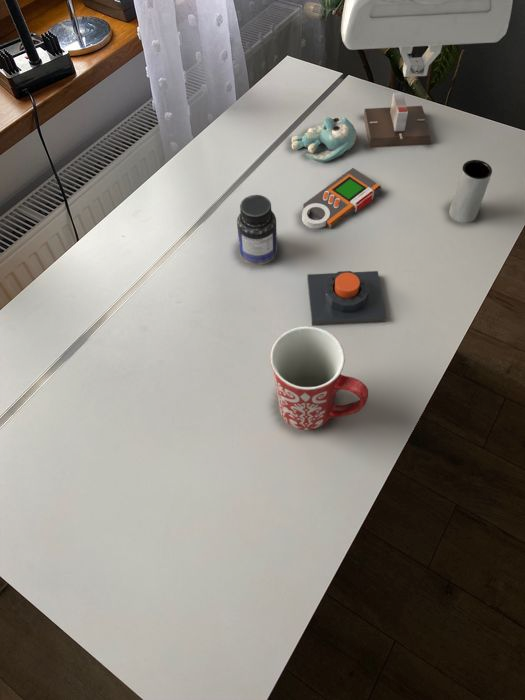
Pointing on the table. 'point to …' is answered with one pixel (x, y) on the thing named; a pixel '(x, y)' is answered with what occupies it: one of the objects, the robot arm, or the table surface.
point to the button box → (345, 300)
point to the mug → (312, 378)
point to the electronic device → (340, 200)
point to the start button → (347, 285)
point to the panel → (383, 129)
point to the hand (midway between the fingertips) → (414, 74)
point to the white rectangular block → (398, 112)
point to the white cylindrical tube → (470, 190)
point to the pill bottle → (257, 230)
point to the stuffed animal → (327, 138)
